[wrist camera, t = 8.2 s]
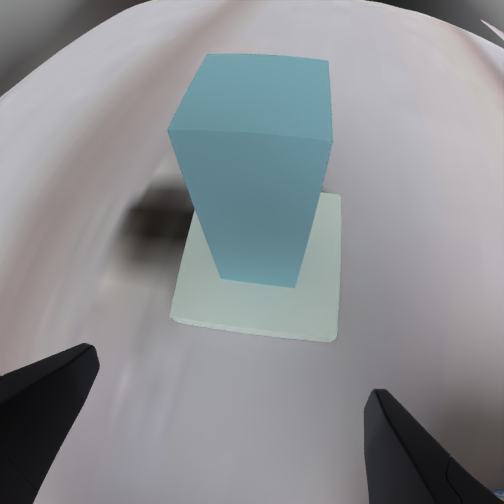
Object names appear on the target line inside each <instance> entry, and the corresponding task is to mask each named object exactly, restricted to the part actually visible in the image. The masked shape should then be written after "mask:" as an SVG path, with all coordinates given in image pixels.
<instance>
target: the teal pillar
mask: <svg viewBox="0 0 504 504" xmlns="http://www.w3.org/2000/svg"><path fill="white" fill-rule="evenodd" d="M168 133H169V136H170V139H171V142H172V145H173V148H174V151H175V154H176V157H177V160H178V163H179V166H180V169H181V171H182V174H183V177H184V180H185V183H186V186H187V189H188V191H189V194H190V197H191V200H192V203H193V205H194V208H195V211H196V214H197V216H198V219H199V222H200V225H201V227H202V230H203V233H204V235H205V238H206V241H207V244H208V246H209V249H210V251H211V254H212V257H213V259H214V262H215V265H216V267H217V270H218V272H219V275H220V278H221V279H226V280H233V281H241V282H248V283H256V284H264V285H272V286H280V287H288V288H295V286H296V282H297V279H298V275H299V272H300V268H301V265H302V261H303V258H304V254H305V250H306V247H307V243H308V239H309V236H310V232H311V228H312V224H313V220H314V216H315V213H316V209H317V205H318V201H319V197H320V193H321V189H322V185H323V181H324V176H325V172H326V168H327V164H328V159H329V155H330V151H331V146H332V142H333V139H332V112H331V93H330V78H329V64H328V61H326V60H318V59H310V58H301V57H290V56H278V55H260V54H207V55H206V57H205V59H204V60H203V62H202V64H201V66H200V68H199V69H198V71H197V73H196V75H195V77H194V78H193V80H192V82H191V84H190V86H189V88H188V90H187V92H186V94H185V95H184V97H183V99H182V101H181V103H180V105H179V107H178V109H177V111H176V113H175V115H174V117H173V119H172V122H171V124H170V126H169V128H168Z"/></svg>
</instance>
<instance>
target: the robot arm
mask: <svg viewBox="0 0 504 504" xmlns="http://www.w3.org/2000/svg"><path fill="white" fill-rule="evenodd" d="M99 367H100V364H99V360H98V356H97V352H96V349H95V347H94V346H93V345H90V344H87V343H82V344H79V345H77V346H74V347H72V348H70V349H67V350H65V351H62V352H60V353H57V354H55V355H52V356H50V357H47V358H45V359H42V360H40V361H37V362H35V363H32V364H30V365H27V366H25V367H22V368H20V369H17V370H15V371H12V372H10V373H7V374H4V375H3V376H0V504H33V502H34V500H35V498H36V496H37V493H38V491H39V489H40V487H41V485H42V483H43V481H44V479H45V477H46V475H47V473H48V471H49V469H50V467H51V465H52V463H53V461H54V459H55V457H56V455H57V453H58V451H59V449H60V447H61V445H62V443H63V442H64V440H65V438H66V436H67V434H68V432H69V430H70V429H71V427H72V425H73V423H74V421H75V419H76V418H77V416H78V414H79V412H80V411H81V409H82V407H83V405H84V403H85V401H86V399H87V396H88V394H89V392H90V389H91V387H92V385H93V382H94V380H95V378H96V376H97V373H98V371H99ZM364 454H365V464H366V473H367V482H368V492H369V504H504V501H503V500H501V499H500V498H499V497H497V496H496V495H495V494H493V493H492V492H491V491H490V490H488V489H487V488H486V487H485V486H483V485H482V484H481V483H480V482H478V481H477V480H476V479H475V478H474V477H473V476H471V475H470V474H469V473H468V472H467V471H466V470H465V469H464V468H463V467H462V466H461V465H460V464H459V463H458V462H457V461H456V460H455V459H454V458H453V457H450V454H449V453H448V452H447V451H446V450H445V449H444V448H443V447H442V446H441V445H440V444H439V443H438V442H437V441H436V440H435V439H434V438H433V437H432V436H431V435H430V434H429V433H428V432H427V431H426V430H425V429H424V428H423V427H422V426H421V424H420V423H419V422H418V421H417V420H416V419H415V418H414V417H413V416H412V415H411V414H410V413H409V412H408V411H407V410H406V409H405V408H404V407H403V406H402V405H401V404H400V403H399V402H398V401H397V400H396V399H395V398H394V397H393V396H392V395H391V394H390V393H389V392H388V391H387V390H386V389H373V390H372V392H371V394H370V396H369V398H368V401H367V403H366V405H365V408H364Z"/></svg>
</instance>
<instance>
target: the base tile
mask: <svg viewBox="0 0 504 504" xmlns="http://www.w3.org/2000/svg"><path fill="white" fill-rule="evenodd" d="M340 269H341V195H339V194H332V193H324V192H321V193H320V197H319V201H318V205H317V209H316V213H315V216H314V220H313V224H312V228H311V232H310V236H309V239H308V243H307V247H306V250H305V254H304V258H303V261H302V265H301V268H300V272H299V275H298V279H297V282H296V286H295V288H288V287H280V286H272V285H264V284H256V283H248V282H241V281H233V280H226V279H221V278H220V275H219V272H218V270H217V267H216V265H215V262H214V259H213V257H212V254H211V251H210V249H209V246H208V244H207V241H206V238H205V235H204V233H203V230H202V227H201V225H200V222H199V219H198V216H197V214H196V211H194V214H193V218H192V222H191V226H190V229H189V233H188V237H187V241H186V245H185V249H184V253H183V257H182V261H181V265H180V269H179V273H178V278H177V282H176V286H175V291H174V295H173V300H172V304H171V309H170V313H169V316H170V317H171V318H172V319H174V320H175V321H176V322H177V323H182V324H188V325H194V326H200V327H206V328H212V329H219V330H225V331H232V332H239V333H246V334H254V335H262V336H270V337H278V338H287V339H297V340H307V341H318V342H329V343H330V342H331V341H333V340H334V339H335V338H337V327H338V312H339V294H340Z"/></svg>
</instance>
